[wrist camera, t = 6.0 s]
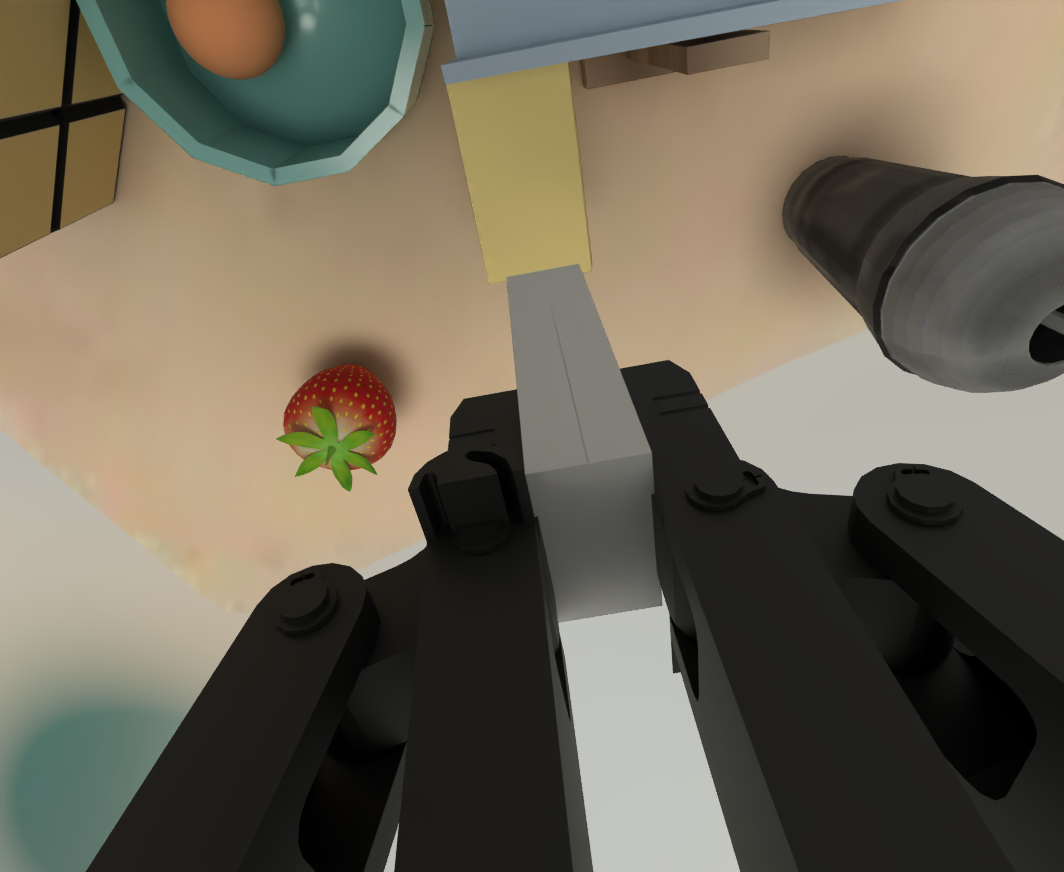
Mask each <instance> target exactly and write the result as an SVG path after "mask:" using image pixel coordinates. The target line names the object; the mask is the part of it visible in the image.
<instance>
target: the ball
mask: <svg viewBox="0 0 1064 872" xmlns="http://www.w3.org/2000/svg"><path fill="white" fill-rule="evenodd" d="M166 7H167V13H168V18H169V21H170V24H171V27H172V29H173V31H174V34H175V36H176V37H177V39H178V41H179V42H180V44H181V45H182V47H183V48H184V49H185V51H186V52H187V53H188V54H189V55H190V56H191V57H192V58H193V59H194V60H195V61H196V62H197V63H198V64H200V65H201V66H202V67H204V68H205V69H207V70H209V71H211V72H212V73H214V74H217V75H219V76H222V77H225V78H229V79H236V80H245V79H251V78H255V77H258V76H260V75H262V74H264V73H265V72H267V71H268V70H269V69H270V68H271V67H272V66H273V65H274V64H275V63H276V61H277V60H278V58H279V56H280V54H281V52H282V49H283V45H284V41H285V22H284V16H283V12H282V8H281V6H280V3H279V0H166Z"/></svg>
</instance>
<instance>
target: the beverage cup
mask: <svg viewBox="0 0 1064 872" xmlns="http://www.w3.org/2000/svg"><path fill="white" fill-rule="evenodd" d="M782 215H783V223H784V228H785V230H786V232H787V234H788V236H789V238H790V239H792V240H793V241H794V243H795V244H796V245H797V247H798V249H799V251H800V252H801V253H802V254H803V255H804V256H805V257H806V258H807V259H808V260H809V261H810V262H811V263H812V264H813V265H814V266H815V267H816V269H817V270H818V271H819V272H820V273H821V274H822V275H823V276H824V277H825V278H826V279H827V280H828V281H829V282H830V283H831V284H832V285H833V286H834V287H835V289H836V290H837V291H838V292H839V293H840V294H841V295H842V296H843V297H844V298H845V299H846V300H847V301H848V302H849V303H850V304H851V305H852V306H853V308H854V309H855V310H856V311H857V312H858V313H859V314H860V315H861V316H862V317H863V319H864V321H865V323H866V325H867V327H868V329H869V330H870V332H871V333H872V335H873V336H874V338H875V340H876V341H877V343H878V344H879V346H880V348H881V350H882V352H883V354H884V356H885V357H886V358H888V359H889V360H890V361H892V362H893V363H894V364H895V365H897V366H898V367H899V368H900V369H902V370H903V371H906V372H908V373H912V374H915V375H918V376H919V377H920V378H922V379H924V380H927V381H929V382H932V383H934V384H938V385H942V386H945V387H949V388H953V389H957V390H962V391H966V392H972V393H989V392H1005V391H1014V390H1020V389H1024V388H1027V387H1031V386H1033V385H1037V384H1040V383H1044V382H1047V381H1049V380H1051V379H1053V378H1056V377H1058V376H1059V375H1061V374H1063V373H1064V184H1061V183H1059V182H1056V181H1053V180H1050V179H1048V178H1045V177H1042V176H1039V175H1024V176H983V177H970V176H964V175H958V174H953V173H947V172H941V171H936V170H930V169H924V168H919V167H913V166H907V165H902V164H896V163H890V162H885V161H879V160H874V159H868V158H849V157H846V156H839V157H829V158H827V159H824V160H821V161H819V162H816V163H815V164H813V165H812V166H811V167H809V168H808V169H807V170H805V171H804V172H803V173H802V174H801V175H800V176H799V177H798V179H797V180H796V181H795V182H794V183H793V185H792V186H791V188H790V190H789V192H788V194H787V197H786V199H785V203H784V208H783V213H782Z"/></svg>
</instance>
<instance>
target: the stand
mask: <svg viewBox="0 0 1064 872" xmlns="http://www.w3.org/2000/svg"><path fill="white" fill-rule="evenodd" d="M769 40H770V31H760V30H738V31H733V32H727V33H722V34H716V35H711V36H706V37H700V38H695V39H689V40H684V41H679V42H673V43H668V44H663V45H657V46H652V47H646V48H641V49H636V50H630V51H625V52H619V53H614V54H609V55H603V56H598V57H592V58H587V59H582V69H583V79H584V87H585V88H586V89H592V88H597V87H602V86H607V85H612V84H617V83H622V82H627V81H632V80H637V79H642V78H647V77H652V76H658V75H663V74H668V73H673V72H679V73H683V74H687V75H689V74H694V73H699V72H704V71H710V70H715V69H720V68H725V67H730V66H735V65H740V64H745V63H750V62H755V61H760V60H766V59H769Z"/></svg>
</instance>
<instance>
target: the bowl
mask: <svg viewBox="0 0 1064 872" xmlns="http://www.w3.org/2000/svg"><path fill="white" fill-rule="evenodd" d="M76 1H77V4H78V6H79V8H80V10H81V12H82V14H83V16H84V18H85V20H86V22H87V24H88V27H89V29H90V31H91V33H92V35H93V37H94V39H95V41H96V43H97V45H98V47H99V50H100V52H101V54H102V56H103V58H104V60H105V62H106V64H107V66H108V68H109V70H110V73H111V75H112V77H113V79H114V81H115V83H116V85H117V87H118V88H119V87H120V88H119V90H120V91H121V92H122V93H124V94H125V95H126V96H127V97H128V98H129V99H130V100H131V101H132V102H133V103H134V104H135V105H136V106H138V107H139V108H140V109H141V110H142V111H143V112H144V113H145V114H146V115H147V116H148V117H149V118H150V119H152V120H153V121H154V122H155V123H156V124H157V125H158V126H159V127H160V128H161V129H162V130H163V131H164V132H166V133H167V134H168V135H169V136H170V137H171V138H172V139H173V140H174V141H175V142H176V143H177V144H178V145H179V146H181V147H182V148H183V149H184V150H185V151H186V152H187V153H188V154H189V155H190V156H191V157H194V159H197V160H200V161H203V162H206V163H209V164H212V165H215V166H218V167H221V168H224V169H226V170H229V171H232V172H235V173H238V174H241V175H244V176H247V177H250V178H253V179H256V180H258V181H261V182H264V183H267V184H270V185H273V186H278V185H283V184H289V183H294V182H299V181H304V180H309V179H314V178H319V177H325V176H330V175H335V174H340V173H345V172H349V171H351V170H352V169H353V168H354V167H355V166H356V165H357V164H358V163H359V161H360V160H361V159H362V158H363V157H364V156H365V155H366V154H367V153H368V152H369V151H370V150H371V149H372V148H373V147H374V146H375V145H376V144H377V143H378V142H379V141H380V140H381V139H382V138H383V137H384V136H385V135H386V134H387V133H388V132H389V131H390V130H391V129H392V128H393V127H394V126H395V125H396V124H397V123H398V122H399V121H400V120H401V119H402V118H403V117H404V115H405V114H406V113H407V112H408V111H409V110H410V108H411V107H412V106H413V105H414V104H415V102H416V101H417V97H418V92H419V88H420V84H421V80H422V76H423V73H424V70H425V66H426V63H427V57H428V51H429V47H430V42H431V38H432V34H433V30H434V20H433V15H432V10H431V6H430V1H429V0H279V3H280V6H281V8H282V12H283V16H284V22H285V41H284V45H283V49H282V52H281V54H280V56H279V58H278V60H277V61H276V63H275V64H274V65H273V66H272V67H271V68H270V69H269V70H268V71H267V72H265V73H264V74H262V75H260V76H258V77H255V78H251V79H245V80H236V79H229V78H225V77H222V76H219V75H217V74H214V73H212V72H211V71H209V70H207V69H205V68H204V67H202V66H201V65H200V64H198V63H197V62H196V61H195V60H194V59H193V58H192V57H191V56H190V55H189V54H188V53H187V52H186V51H185V49H184V48H183V47H182V45H181V44H180V42H179V41H178V39H177V37H176V36H175V34H174V31H173V29H172V27H171V24H170V21H169V18H168V13H167V7H166V0H76Z"/></svg>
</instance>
